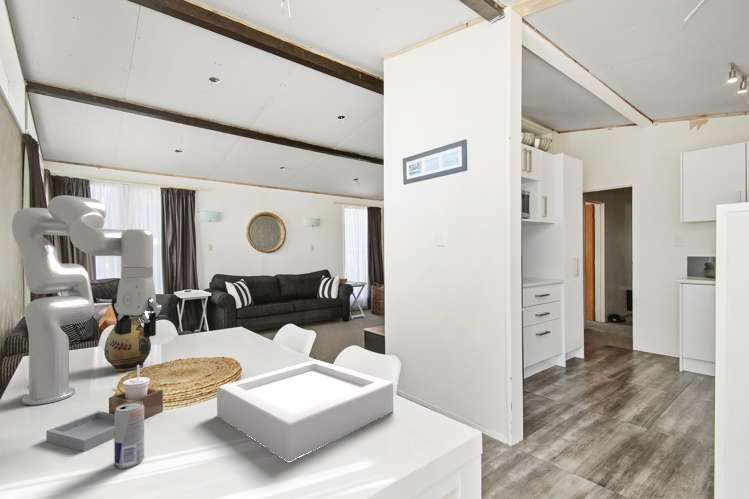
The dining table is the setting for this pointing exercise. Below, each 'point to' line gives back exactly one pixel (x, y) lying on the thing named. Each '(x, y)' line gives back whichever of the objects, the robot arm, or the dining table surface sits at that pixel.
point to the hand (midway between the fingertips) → (137, 335)
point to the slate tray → (84, 431)
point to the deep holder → (150, 401)
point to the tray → (303, 406)
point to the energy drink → (128, 435)
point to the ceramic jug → (127, 345)
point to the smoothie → (136, 386)
